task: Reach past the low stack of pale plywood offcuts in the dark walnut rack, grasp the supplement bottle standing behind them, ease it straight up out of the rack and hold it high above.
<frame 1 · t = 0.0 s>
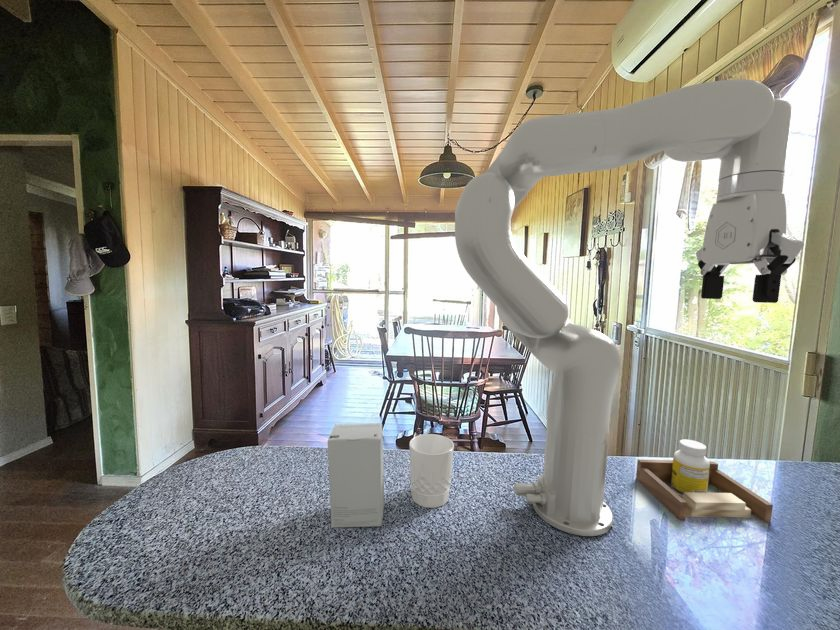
hand: (735, 300, 57), 37 cm above the kitchen counter, tool pointing down, fingers open, 9 cm apart
skincare box: (357, 518, 58), on the kitchen counter
supplement bottle: (687, 494, 67), resting in walnut rack
walnut rack: (698, 502, 64), on the kitchen counter
top offcut: (713, 504, 61), point 2 cm above the kitchen counter, touching middle offcut
bottom offcut: (710, 517, 61), on the kitchen counter, touching middle offcut
middle offcut: (713, 510, 61), resting on bottom offcut, touching top offcut
white cup: (430, 497, 64), on the kitchen counter
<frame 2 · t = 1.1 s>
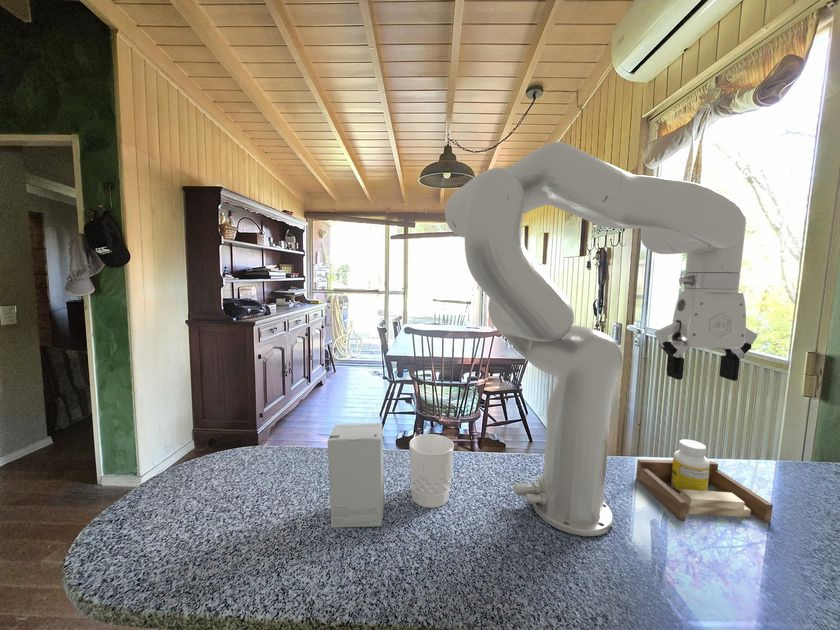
hand: (701, 378, 65), 22 cm above the kitchen counter, tool pointing down, fingers open, 9 cm apart
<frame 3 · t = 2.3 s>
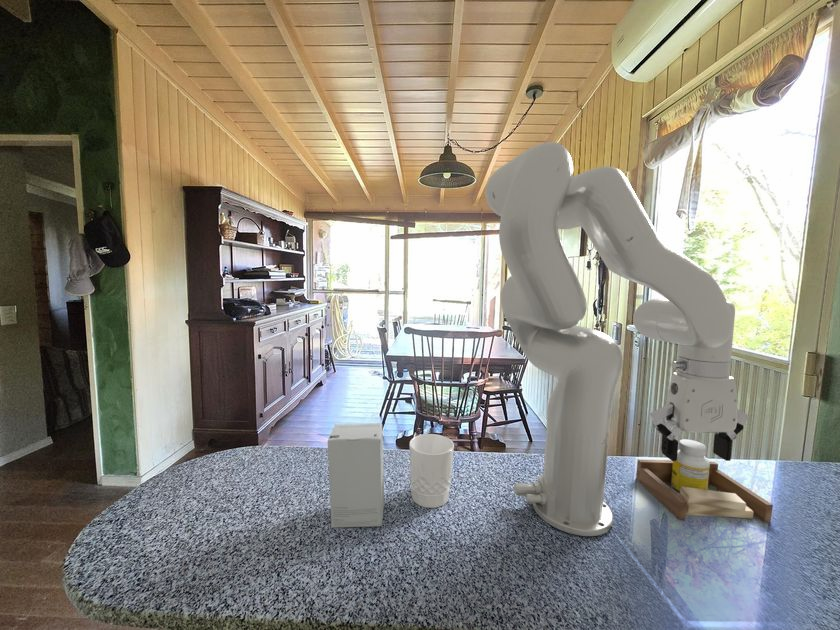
hand: (695, 457, 66), 7 cm above the kitchen counter, tool pointing down, fingers open, 9 cm apart
nothing on the kitchen counter moved.
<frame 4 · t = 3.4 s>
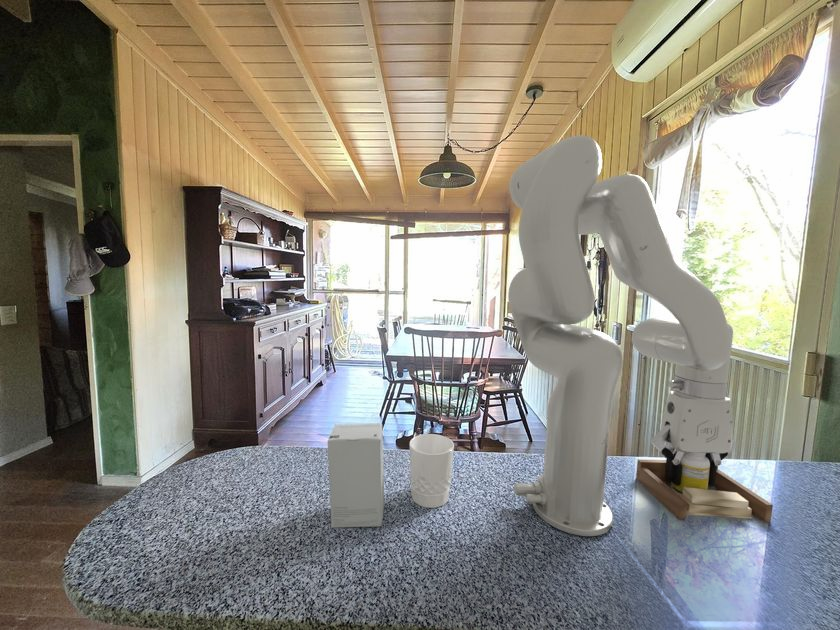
hand: (689, 480, 67), 3 cm above the kitchen counter, tool pointing down, fingers closed on supplement bottle, 5 cm apart
supplement bottle: (687, 494, 67), resting in walnut rack, touching gripper
top offcut: (714, 501, 61), point 2 cm above the kitchen counter
middle offcut: (712, 508, 62), point 1 cm above the kitchen counter, touching bottom offcut
everything else where it was.
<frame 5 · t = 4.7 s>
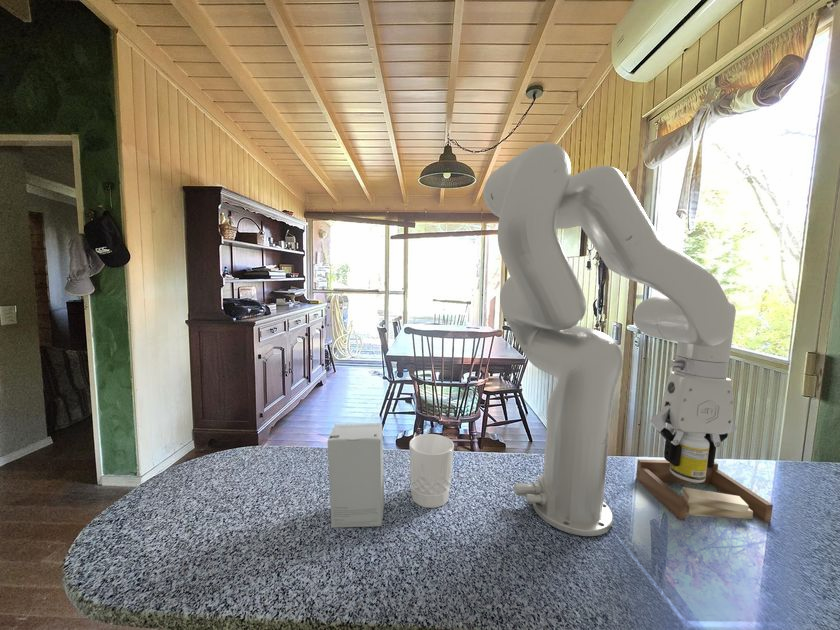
hand: (688, 462, 66), 6 cm above the kitchen counter, tool pointing down, fingers closed on supplement bottle, 5 cm apart
supplement bottle: (686, 476, 66), point 3 cm above the kitchen counter, touching gripper
top offcut: (713, 503, 61), point 2 cm above the kitchen counter, touching middle offcut
middle offcut: (713, 510, 61), resting on bottom offcut, touching top offcut
everything else where it was.
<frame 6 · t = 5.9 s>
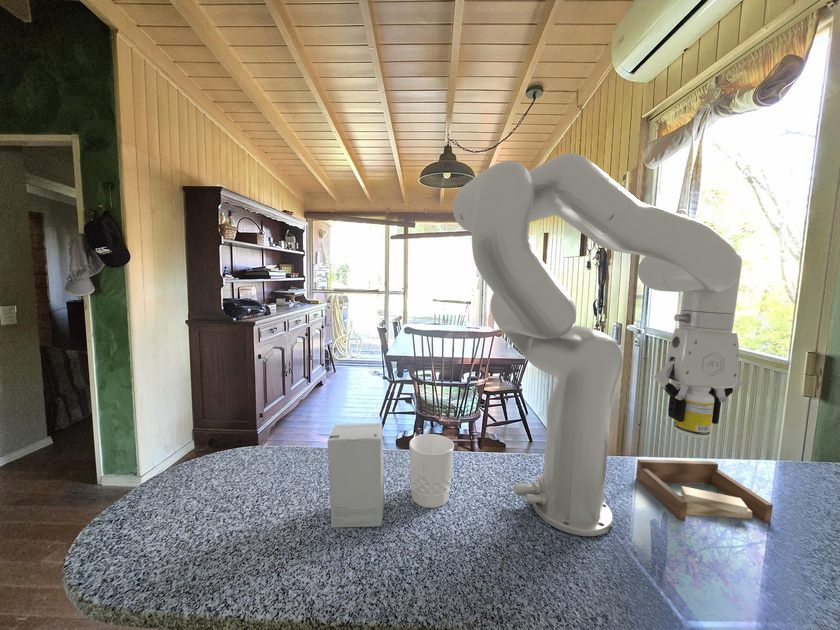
hand: (692, 419, 65), 15 cm above the kitchen counter, tool pointing down, fingers closed on supplement bottle, 5 cm apart
supplement bottle: (690, 433, 65), point 12 cm above the kitchen counter, touching gripper
everything else where it was.
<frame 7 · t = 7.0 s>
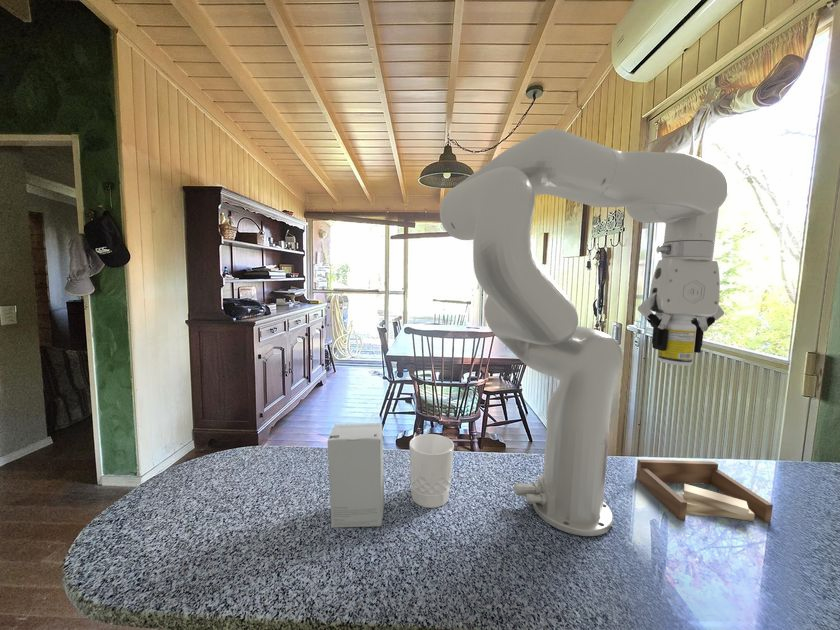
hand: (675, 349, 67), 27 cm above the kitchen counter, tool pointing down, fingers closed on supplement bottle, 5 cm apart
supplement bottle: (674, 363, 67), point 24 cm above the kitchen counter, touching gripper
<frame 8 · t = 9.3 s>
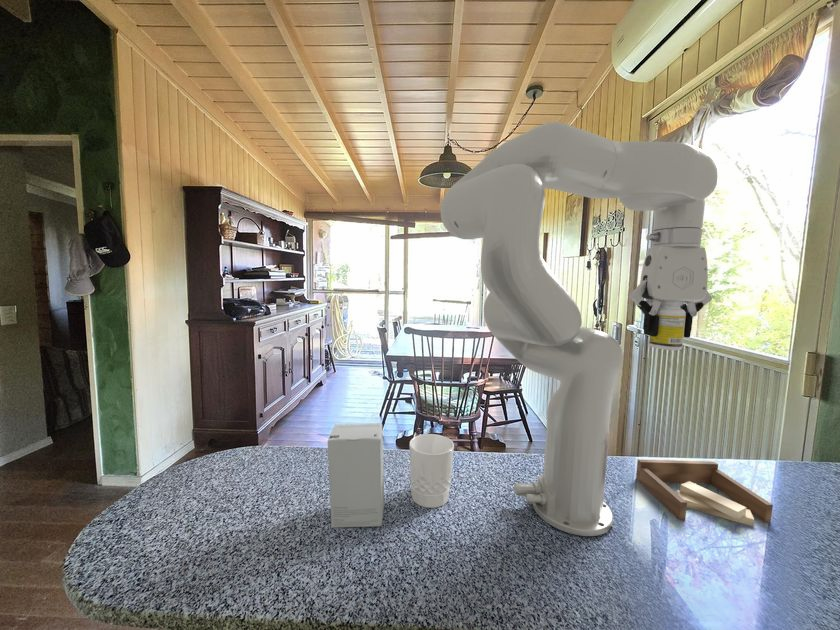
hand: (666, 334, 69), 29 cm above the kitchen counter, tool pointing down, fingers closed on supplement bottle, 5 cm apart
supplement bottle: (664, 348, 69), point 27 cm above the kitchen counter, touching gripper
at the end: the gripper is holding supplement bottle; supplement bottle point 26.6 cm above the kitchen counter; top offcut moved 1.1 cm from its start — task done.
